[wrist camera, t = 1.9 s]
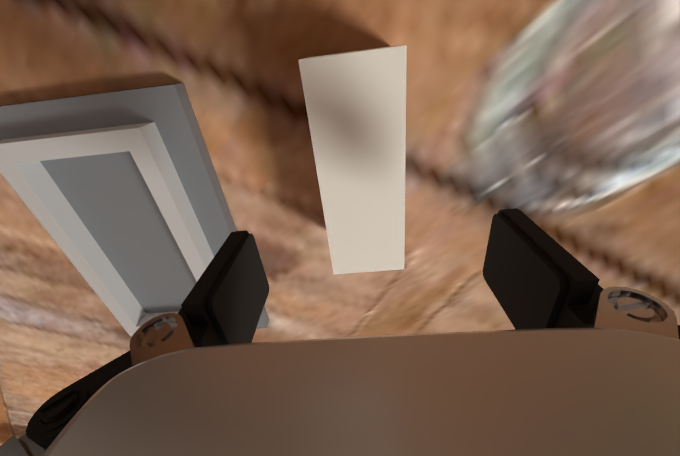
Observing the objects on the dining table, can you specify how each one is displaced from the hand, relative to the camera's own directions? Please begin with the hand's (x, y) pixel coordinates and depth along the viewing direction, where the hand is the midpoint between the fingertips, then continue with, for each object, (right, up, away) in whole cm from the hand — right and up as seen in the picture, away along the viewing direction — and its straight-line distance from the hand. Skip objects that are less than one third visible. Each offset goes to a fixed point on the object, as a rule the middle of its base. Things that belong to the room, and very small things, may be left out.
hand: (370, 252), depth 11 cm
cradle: (-16, 0, +12) cm, 20 cm away
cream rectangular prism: (0, +6, +8) cm, 10 cm away
